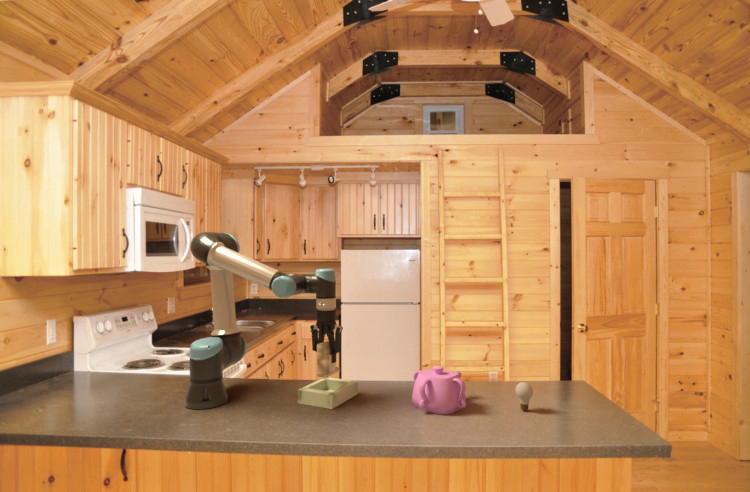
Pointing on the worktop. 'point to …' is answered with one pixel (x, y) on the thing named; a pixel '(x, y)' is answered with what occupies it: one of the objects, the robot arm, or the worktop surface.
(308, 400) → the well block
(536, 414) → the worktop surface
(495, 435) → the worktop surface
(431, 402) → the pink multi-handled pot
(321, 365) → the wooden stepped block
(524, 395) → the light bulb
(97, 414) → the worktop surface
